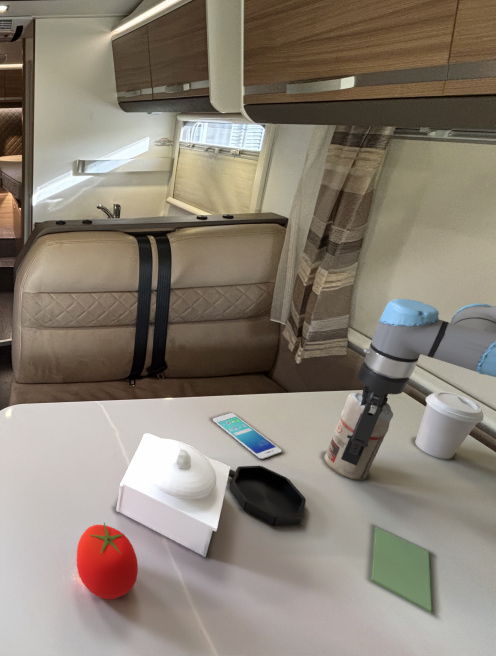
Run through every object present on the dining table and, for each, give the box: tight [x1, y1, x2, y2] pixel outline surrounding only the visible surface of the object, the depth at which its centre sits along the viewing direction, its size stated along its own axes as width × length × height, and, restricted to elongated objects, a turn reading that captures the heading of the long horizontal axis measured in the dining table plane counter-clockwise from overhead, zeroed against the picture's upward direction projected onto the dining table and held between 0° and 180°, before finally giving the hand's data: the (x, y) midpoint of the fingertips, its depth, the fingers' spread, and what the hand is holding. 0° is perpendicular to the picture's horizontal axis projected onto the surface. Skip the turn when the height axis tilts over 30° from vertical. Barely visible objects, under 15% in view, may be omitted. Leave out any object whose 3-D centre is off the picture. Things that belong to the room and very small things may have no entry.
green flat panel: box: [370, 526, 434, 615], centre depth 79 cm, size 8×14×1 cm, turn 137°
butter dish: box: [115, 432, 231, 558], centre depth 89 cm, size 18×18×16 cm
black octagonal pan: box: [228, 465, 307, 527], centre depth 95 cm, size 22×13×3 cm, turn 47°
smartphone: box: [212, 412, 283, 461], centre depth 110 cm, size 8×1×15 cm
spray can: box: [323, 392, 394, 481], centre depth 97 cm, size 8×8×20 cm
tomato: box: [76, 522, 139, 600], centre depth 76 cm, size 10×11×11 cm
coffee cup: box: [414, 390, 484, 460], centre depth 103 cm, size 10×10×15 cm
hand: (351, 450), depth 99 cm, fingers open, 8 cm apart
